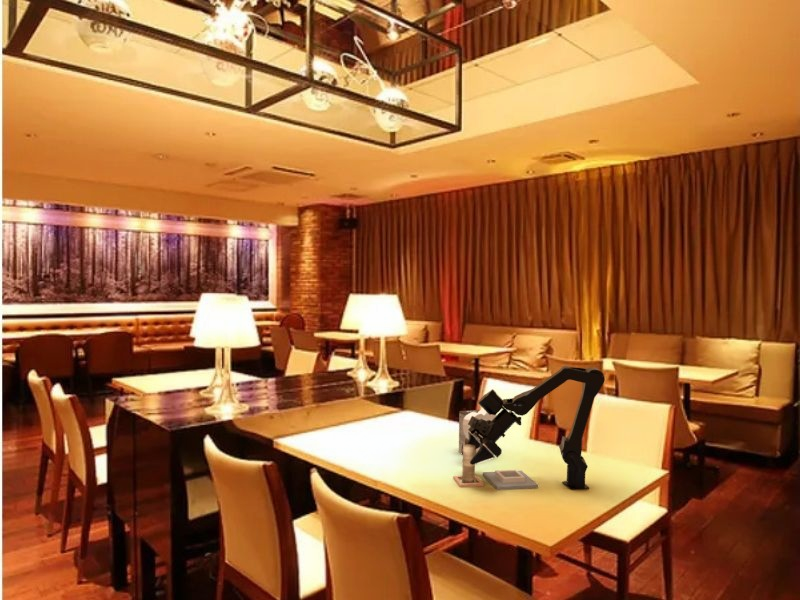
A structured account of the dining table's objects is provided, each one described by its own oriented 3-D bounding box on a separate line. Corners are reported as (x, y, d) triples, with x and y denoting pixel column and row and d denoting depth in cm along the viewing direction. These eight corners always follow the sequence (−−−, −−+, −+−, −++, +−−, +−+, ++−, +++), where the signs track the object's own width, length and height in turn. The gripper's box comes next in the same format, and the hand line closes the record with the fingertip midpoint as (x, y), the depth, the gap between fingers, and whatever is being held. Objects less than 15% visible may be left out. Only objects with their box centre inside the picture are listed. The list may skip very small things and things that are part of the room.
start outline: (483, 485, 186) (483, 483, 186) (460, 487, 185) (460, 484, 185) (476, 477, 194) (476, 475, 194) (453, 478, 192) (453, 476, 192)
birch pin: (476, 484, 188) (477, 447, 187) (464, 484, 187) (465, 448, 186) (472, 479, 192) (473, 444, 191) (460, 480, 191) (461, 444, 190)
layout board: (538, 488, 185) (538, 480, 185) (497, 490, 183) (497, 482, 183) (521, 473, 199) (521, 466, 199) (482, 475, 196) (482, 467, 196)
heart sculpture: (486, 454, 220) (488, 407, 219) (497, 457, 216) (498, 410, 216) (460, 462, 209) (461, 413, 209) (471, 466, 206) (472, 416, 205)
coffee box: (479, 450, 225) (480, 409, 225) (486, 455, 219) (487, 413, 218) (457, 451, 223) (459, 410, 222) (464, 456, 217) (465, 414, 216)
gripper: (474, 402, 198) (442, 434, 197) (493, 415, 180) (458, 451, 178) (495, 424, 200) (464, 456, 199) (516, 439, 182) (481, 475, 180)
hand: (466, 459), depth 189 cm, fingers open, 9 cm apart
